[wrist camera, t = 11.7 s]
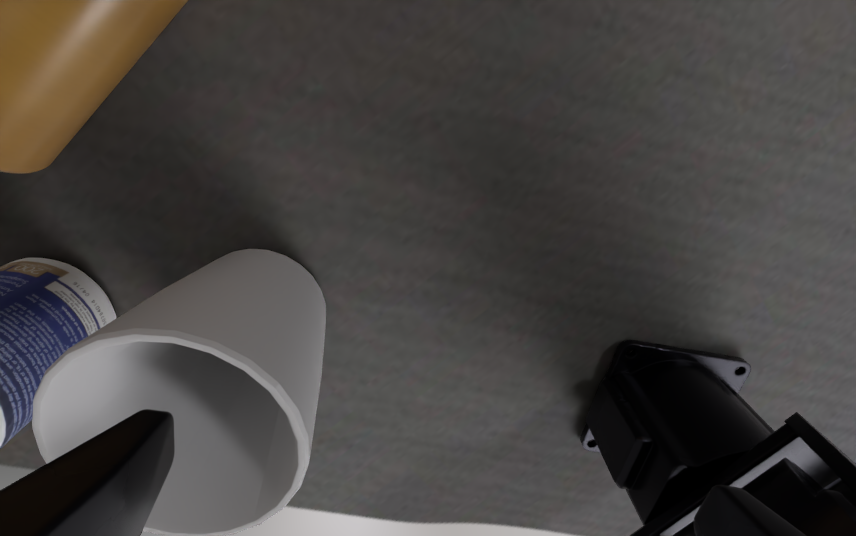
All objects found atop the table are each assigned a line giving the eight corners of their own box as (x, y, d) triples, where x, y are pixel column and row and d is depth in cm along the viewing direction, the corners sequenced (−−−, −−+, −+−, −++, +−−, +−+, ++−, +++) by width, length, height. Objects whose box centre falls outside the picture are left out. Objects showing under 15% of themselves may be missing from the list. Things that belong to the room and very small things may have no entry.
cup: (361, 244, 20) (324, 359, 12) (329, 425, 24) (286, 601, 16) (177, 208, 19) (10, 306, 11) (175, 401, 23) (50, 574, 15)
